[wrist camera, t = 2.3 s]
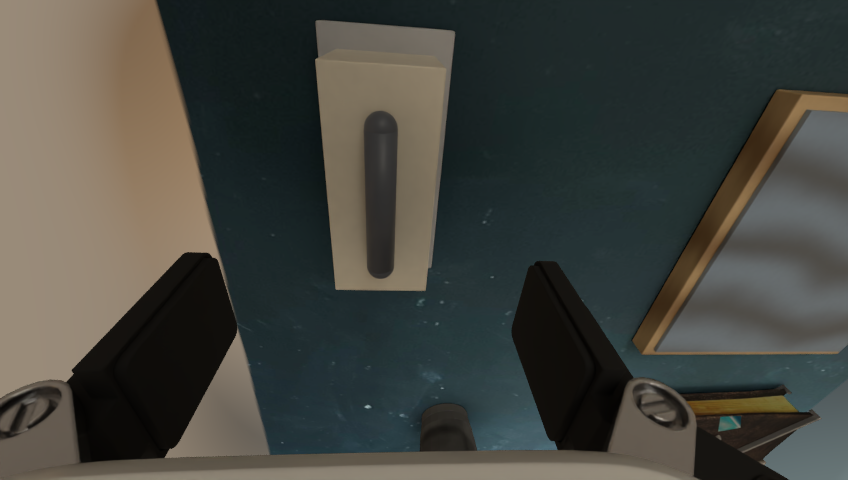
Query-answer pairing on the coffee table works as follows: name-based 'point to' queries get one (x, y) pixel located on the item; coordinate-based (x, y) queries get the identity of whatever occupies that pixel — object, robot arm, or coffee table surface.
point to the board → (767, 244)
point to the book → (749, 418)
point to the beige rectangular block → (382, 148)
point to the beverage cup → (446, 429)
